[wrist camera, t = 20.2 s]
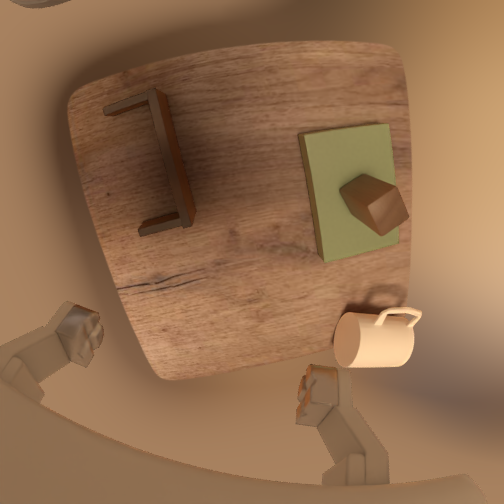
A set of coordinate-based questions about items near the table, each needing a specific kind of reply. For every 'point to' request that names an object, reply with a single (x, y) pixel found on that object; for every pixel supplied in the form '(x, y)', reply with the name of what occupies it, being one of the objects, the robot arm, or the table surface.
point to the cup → (375, 338)
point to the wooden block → (375, 203)
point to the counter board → (340, 174)
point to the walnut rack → (170, 158)
